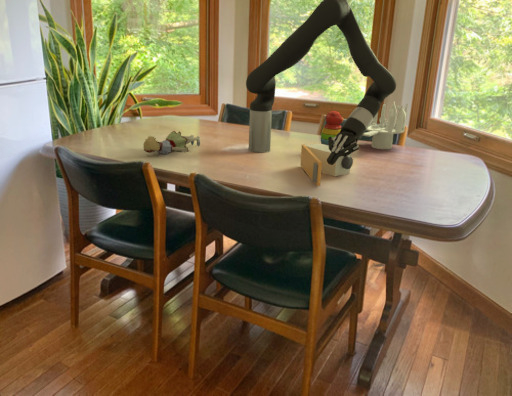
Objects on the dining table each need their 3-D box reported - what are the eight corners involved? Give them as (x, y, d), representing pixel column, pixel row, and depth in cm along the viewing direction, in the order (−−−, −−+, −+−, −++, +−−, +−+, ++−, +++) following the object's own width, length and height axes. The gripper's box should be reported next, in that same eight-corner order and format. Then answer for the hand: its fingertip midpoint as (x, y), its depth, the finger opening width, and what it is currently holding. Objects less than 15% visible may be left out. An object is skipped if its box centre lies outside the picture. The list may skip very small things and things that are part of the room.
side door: (298, 165, 176) (299, 144, 173) (302, 165, 176) (304, 144, 174) (314, 185, 152) (316, 162, 149) (320, 185, 152) (321, 162, 149)
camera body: (303, 166, 177) (304, 143, 174) (318, 163, 181) (319, 141, 178) (337, 177, 164) (339, 153, 161) (352, 173, 169) (355, 150, 166)
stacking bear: (342, 156, 194) (346, 113, 188) (318, 154, 195) (321, 112, 190) (343, 150, 204) (347, 110, 198) (320, 149, 205) (323, 108, 200)
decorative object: (344, 151, 203) (348, 105, 196) (371, 141, 225) (376, 99, 218) (383, 158, 193) (389, 109, 186) (407, 147, 215) (413, 103, 208)
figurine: (175, 141, 211) (123, 152, 187) (175, 123, 209) (123, 131, 185) (217, 151, 199) (168, 163, 175) (218, 131, 196) (168, 141, 172)
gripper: (376, 134, 156) (348, 174, 152) (346, 127, 165) (320, 165, 162) (368, 119, 151) (339, 160, 148) (338, 113, 161) (310, 152, 157)
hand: (329, 163), depth 155 cm, fingers closed
